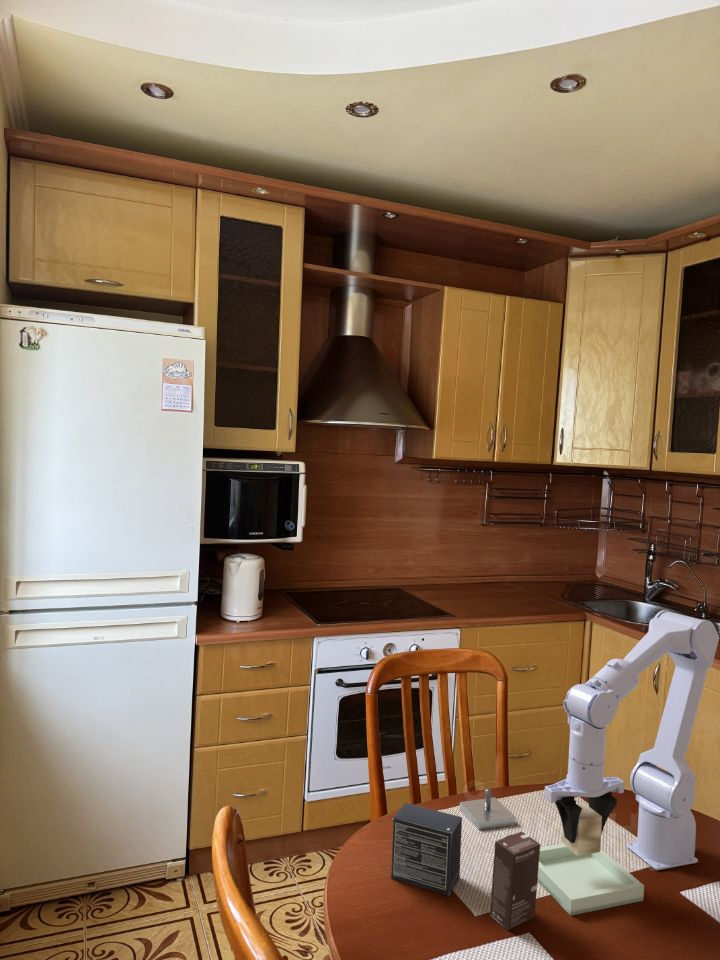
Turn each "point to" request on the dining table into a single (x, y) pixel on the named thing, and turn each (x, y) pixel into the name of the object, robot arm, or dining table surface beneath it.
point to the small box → (426, 848)
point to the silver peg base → (487, 812)
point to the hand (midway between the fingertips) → (582, 837)
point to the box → (514, 880)
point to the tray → (586, 880)
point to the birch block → (586, 832)
